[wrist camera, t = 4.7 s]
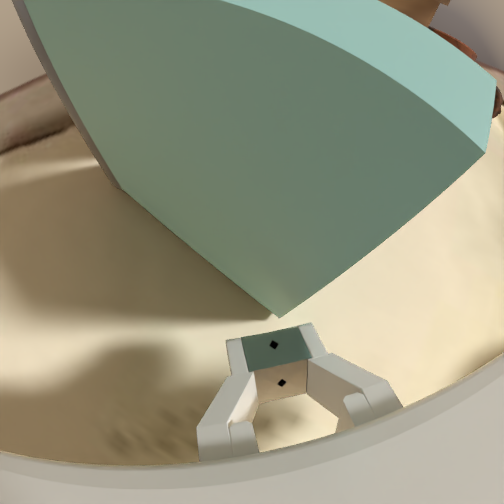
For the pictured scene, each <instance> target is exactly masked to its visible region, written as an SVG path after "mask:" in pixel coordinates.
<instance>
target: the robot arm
mask: <svg viewBox="0 0 504 504" xmlns="http://www.w3.org/2000/svg"><path fill="white" fill-rule="evenodd" d="M226 348H227V354H228V359H229V365H230V371H231V376H227V378H226V379H225V381H224V383H223V384H222V386H221V388H220V389H219V391H218V393H217V394H216V396H215V398H214V399H213V401H212V403H211V404H210V406H209V408H208V409H207V411H206V413H205V414H204V416H203V417H202V419H201V421H200V422H199V424H198V426H197V427H196V429H197V441H198V452H199V462H193V463H181V464H166V465H99V464H84V463H73V462H64V461H56V460H48V459H42V458H36V457H30V456H25V455H20V454H15V453H10V452H6V451H2V450H0V504H504V352H503V353H502V354H500V355H499V356H497V357H496V358H494V359H493V360H491V361H490V362H488V363H486V364H485V365H483V366H482V367H480V368H478V369H477V370H475V371H473V372H472V373H470V374H468V375H467V376H465V377H463V378H461V379H460V380H458V381H456V382H454V383H452V384H450V385H449V386H447V387H445V388H443V389H441V390H439V391H437V392H435V393H433V394H431V395H429V396H427V397H425V398H423V399H421V400H419V401H417V402H415V403H412V404H410V405H408V406H406V407H403V406H402V404H401V402H400V401H399V399H398V398H397V396H396V394H395V393H394V391H393V389H392V388H391V386H390V385H389V383H388V381H387V380H385V379H383V378H380V377H378V376H376V375H374V374H372V373H370V372H368V371H366V370H364V369H363V368H361V367H359V366H357V365H355V364H353V363H351V362H349V361H347V360H345V359H343V358H341V357H339V356H337V355H335V354H333V353H330V354H328V352H327V350H326V349H325V347H324V345H323V343H322V341H321V339H320V337H319V335H318V333H317V332H316V330H315V328H314V326H313V324H312V323H307V324H303V325H299V326H297V327H296V326H295V327H291V328H286V329H282V330H277V331H273V332H269V333H263V334H258V335H252V336H246V337H241V339H240V338H236V339H229V340H226ZM305 393H307V395H309V396H310V397H311V398H313V399H314V400H315V401H316V402H318V403H319V404H320V405H322V406H323V407H325V408H326V409H327V410H329V411H330V412H331V413H333V414H334V415H335V416H337V417H338V418H339V420H338V424H337V428H336V432H335V433H334V434H331V435H328V436H325V437H321V438H318V439H314V440H311V441H307V442H304V443H300V444H296V445H292V446H288V447H284V448H279V449H275V450H270V451H266V452H261V453H259V449H258V445H257V441H256V437H255V433H254V429H253V425H252V422H253V419H254V417H255V415H256V412H257V410H258V407H259V404H261V403H266V402H270V401H274V400H278V399H282V398H287V397H291V396H296V395H300V394H305Z"/></svg>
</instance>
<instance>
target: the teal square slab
mask: <svg viewBox="0 0 504 504" xmlns="http://www.w3.org/2000/svg"><path fill="white" fill-rule="evenodd" d="M12 2H13V4H14V7H15V9H16V11H17V13H18V16H19V18H20V20H21V22H22V25H23V27H24V29H25V31H26V33H27V36H28V38H29V40H30V42H31V44H32V46H33V48H34V50H35V52H36V54H37V56H38V58H39V60H40V62H41V64H42V66H43V68H44V70H45V72H46V74H47V75H48V77H49V79H50V81H51V83H52V85H53V87H54V88H55V90H56V92H57V94H58V96H59V98H60V99H61V101H62V103H63V105H64V106H65V108H66V110H67V112H68V113H69V115H70V117H71V119H72V120H73V122H74V124H75V125H76V127H77V129H78V130H79V132H80V134H81V135H82V137H83V139H84V140H85V142H86V144H87V145H88V147H89V149H90V150H91V152H92V153H93V155H94V157H95V158H96V160H97V161H98V163H99V164H100V166H101V168H102V169H103V171H104V172H105V174H106V175H107V177H108V178H109V180H110V181H111V183H112V184H113V186H115V187H116V188H119V189H123V190H124V191H125V192H126V193H127V194H129V195H130V196H131V197H132V198H133V199H134V200H135V201H137V202H138V203H139V204H140V205H141V206H142V207H144V208H145V209H146V210H147V211H148V212H149V213H151V214H152V215H153V216H154V217H155V218H157V219H158V220H159V221H160V222H161V223H162V224H164V225H165V226H166V227H167V228H168V229H170V230H171V231H172V232H173V233H174V234H175V235H177V236H178V237H179V238H180V239H181V240H183V241H184V242H185V243H186V244H188V245H189V246H190V247H191V248H192V249H194V250H195V251H196V252H197V253H198V254H200V255H201V256H202V257H203V258H204V259H206V260H207V261H208V262H209V263H211V264H212V265H213V266H214V267H216V268H217V269H218V270H219V271H220V272H222V273H223V274H224V275H225V276H227V277H228V278H229V279H230V280H232V281H233V282H234V283H235V284H237V285H238V286H239V287H240V288H242V289H243V290H244V291H245V292H247V293H248V294H249V295H250V296H252V297H253V298H254V299H255V300H257V301H258V302H259V303H261V304H262V305H263V306H264V307H266V308H267V309H268V310H269V311H271V312H272V313H273V314H275V315H276V316H277V317H278V318H281V317H282V316H284V315H285V314H287V313H288V312H290V311H291V310H292V309H294V308H295V307H297V306H298V305H300V304H301V303H302V302H304V301H305V300H307V299H308V298H309V297H311V296H312V295H314V294H315V293H316V292H318V291H319V290H321V289H322V288H323V287H325V286H326V285H327V284H329V283H330V282H331V281H333V280H334V279H335V278H337V277H338V276H340V275H341V274H342V273H344V272H345V271H346V270H348V269H349V268H350V267H351V266H353V265H354V264H355V263H357V262H358V261H359V260H361V259H362V258H363V257H365V256H366V255H367V254H368V253H370V252H371V251H372V250H374V249H375V248H376V247H377V246H379V245H380V244H381V243H382V242H384V241H385V240H386V239H387V238H389V237H390V236H391V235H392V234H394V233H395V232H396V231H397V230H399V229H400V228H401V227H402V226H403V225H405V224H406V223H407V222H408V221H409V220H411V219H412V218H413V217H414V216H415V215H417V214H418V213H419V212H420V211H421V210H423V209H424V208H425V207H426V206H427V205H428V204H430V203H431V202H432V201H433V200H434V199H435V198H437V197H438V196H439V195H440V194H441V193H442V192H443V191H445V190H446V189H447V188H448V187H449V186H450V185H451V184H452V183H454V182H455V181H456V180H457V179H458V178H459V177H460V176H461V175H462V174H463V173H465V172H466V171H467V170H468V169H469V168H470V167H471V166H472V165H473V164H474V163H475V162H476V161H477V160H478V159H480V158H481V157H482V156H483V155H484V154H485V152H486V148H487V143H488V138H489V132H490V127H491V121H492V115H493V108H494V100H495V92H496V82H497V80H495V79H494V78H493V77H492V76H491V75H490V74H489V73H487V72H486V71H485V70H484V69H483V68H482V67H480V66H479V65H478V64H477V63H475V62H474V61H473V60H472V59H470V58H469V57H468V56H467V55H465V54H464V53H463V52H461V51H460V50H459V49H457V48H456V47H455V46H453V45H452V44H450V43H449V42H448V41H446V40H445V39H443V38H442V37H440V36H439V35H437V34H436V33H434V32H433V31H431V30H430V29H428V28H426V27H425V26H423V25H422V24H420V23H418V22H417V21H415V20H413V19H412V18H410V17H408V16H406V15H405V14H403V13H401V12H399V11H397V10H396V9H394V8H392V7H390V6H388V5H386V4H384V3H382V2H380V1H378V0H12Z"/></svg>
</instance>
